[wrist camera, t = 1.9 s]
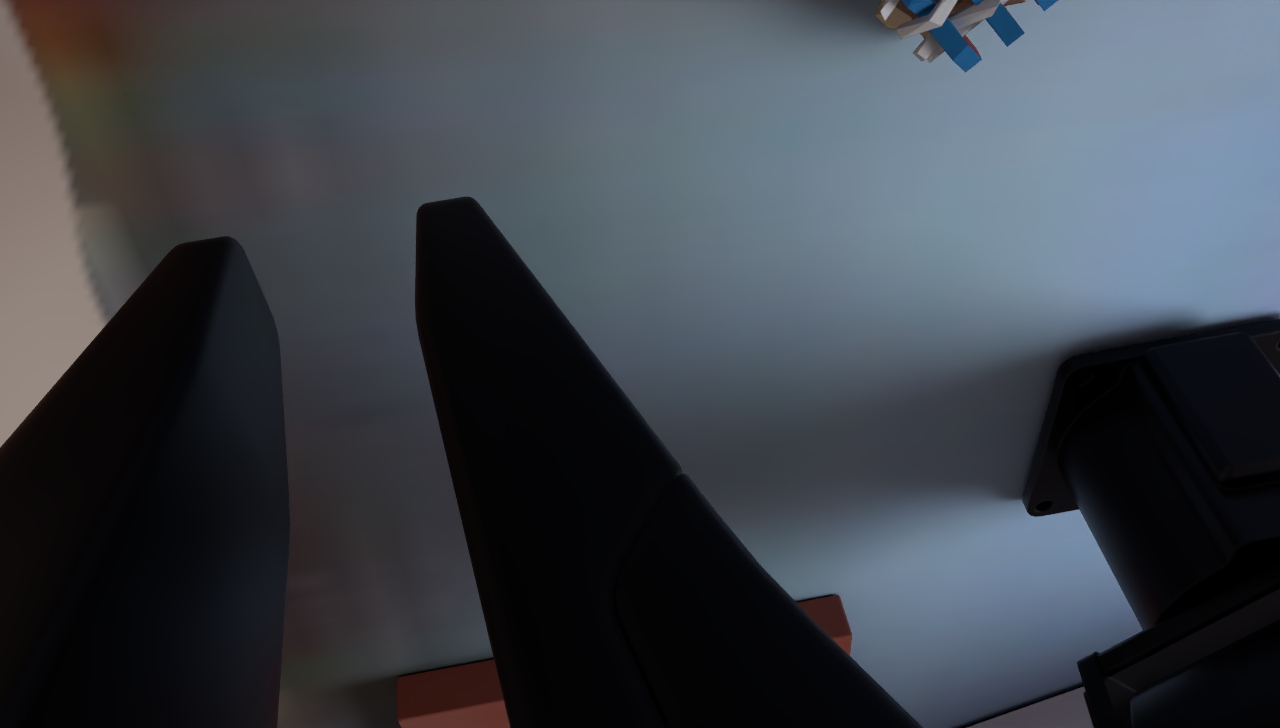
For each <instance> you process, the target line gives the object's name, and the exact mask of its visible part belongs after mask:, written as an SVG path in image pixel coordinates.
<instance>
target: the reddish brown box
mask: <svg viewBox="0 0 1280 728" xmlns="http://www.w3.org/2000/svg"><path fill="white" fill-rule="evenodd" d="M797 604H798V605H799V606H800V607H801V608H802V609H803V610H804V611H805V612H806V613H807V614H808V615H809V616H810V618H811V619H812V620H813V621H814V622H815V623H816V624H817V625H818V626H819V627H820V628H821V629H822V630H823V631H824V632H825V633H827V634H828V635H829V636H830V637H831V638H832V639H833V640H834V641H835V642H836V643H837V644H838V645H839V646H840V647H841V648H842V649H843V650H844V651H845V652H846V653H847V654H848V655H849V656H850V649H851V640H852V633H851V630H850V627H849V624H848V620H847V617H846V614H845V611H844V608H843V605H842V602H841V599H840V597H839V595H835V596H830V597H824V598H819V599H813V600H808V601H803V602H797ZM397 713H398V722H399V724H400V726H401V728H510V725H509V721H508V716H507V712H506V708H505V704H504V699H503V695H502V691H501V686H500V682H499V678H498V674H497V669H496V665H495V661H494V659H493V660H487V661H482V662H477V663H471V664H466V665H460V666H455V667H450V668H444V669H439V670H434V671H428V672H423V673H418V674H412V675H407V676H402V677H398V678H397Z"/></svg>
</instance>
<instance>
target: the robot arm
mask: <svg viewBox="0 0 1280 728" xmlns="http://www.w3.org/2000/svg"><path fill="white" fill-rule="evenodd" d="M415 311H416V323H417V329H418V335H419V340H420V344H421V349H422V353H423V357H424V362H425V366H426V370H427V374H428V379H429V383H430V387H431V391H432V396H433V400H434V404H435V409H436V413H437V417H438V421H439V426H440V430H441V434H442V438H443V443H444V447H445V451H446V456H447V460H448V464H449V468H450V473H451V477H452V481H453V486H454V490H455V494H456V498H457V503H458V507H459V511H460V515H461V520H462V524H463V528H464V533H465V537H466V541H467V545H468V550H469V554H470V558H471V562H472V567H473V571H474V575H475V580H476V584H477V588H478V592H479V597H480V601H481V605H482V610H483V614H484V618H485V622H486V627H487V631H488V635H489V639H490V644H491V648H492V652H493V657H494V661H495V665H496V669H497V674H498V678H499V682H500V686H501V691H502V695H503V699H504V704H505V708H506V712H507V716H508V721H509V725H510V728H923V727H922V726H921V725H920V724H919V723H918V722H917V721H916V720H915V719H914V718H913V717H911V716H910V715H909V714H908V713H907V712H906V711H905V710H904V709H903V708H902V707H901V706H900V705H899V704H898V703H897V702H896V701H895V700H894V699H893V698H892V697H891V696H890V695H889V694H888V693H887V692H886V691H885V690H884V689H883V688H882V687H881V686H880V685H879V684H878V683H877V682H876V681H875V680H874V679H873V678H872V677H871V676H870V675H868V674H867V673H866V672H865V671H864V670H863V669H862V668H861V667H860V666H859V665H858V664H857V663H856V662H855V661H854V660H853V659H852V658H851V657H850V656H849V655H848V654H847V653H846V652H845V651H844V650H843V649H842V648H841V647H840V646H839V645H838V644H837V643H836V642H835V641H834V640H833V639H832V638H831V637H830V636H829V635H828V634H827V633H825V632H824V631H823V630H822V629H821V628H820V627H819V626H818V625H817V624H816V623H815V622H814V621H813V620H812V619H811V618H810V616H809V615H808V614H807V613H806V612H805V611H804V610H803V609H802V608H801V607H800V606H799V605H798V604H797V603H796V602H795V601H794V600H793V599H792V598H791V597H790V596H789V595H788V593H787V592H786V591H785V590H784V589H783V588H782V587H781V586H780V585H779V584H778V583H777V582H776V581H775V580H774V579H773V578H772V577H771V576H770V575H769V574H768V573H767V572H766V570H765V569H764V568H763V567H762V566H761V565H760V564H759V563H758V562H757V560H756V559H755V558H754V557H753V556H752V554H751V553H750V552H749V551H748V550H747V548H746V547H745V546H744V545H743V544H742V542H741V541H740V540H739V539H738V538H737V536H736V535H735V534H734V533H733V532H732V530H731V529H730V528H729V527H728V526H727V524H726V523H725V522H724V521H723V519H722V518H721V517H720V516H719V515H718V513H717V512H716V511H715V510H714V508H713V507H712V506H711V505H710V503H709V502H708V501H707V499H706V498H705V497H704V495H703V494H702V493H701V491H700V490H699V489H698V488H697V486H696V485H695V484H694V482H693V481H692V480H691V478H690V477H689V476H688V475H686V474H682V469H681V467H680V465H679V464H678V462H677V461H676V460H675V459H674V457H673V456H672V455H671V453H670V452H669V451H668V449H667V448H666V447H665V446H664V444H663V443H662V442H661V440H660V439H659V438H658V436H657V435H656V434H655V432H654V431H653V430H652V429H651V427H650V426H649V425H648V423H647V422H646V421H645V419H644V418H643V417H642V416H641V414H640V413H639V412H638V410H637V409H636V408H635V406H634V405H633V404H632V403H631V401H630V400H629V399H628V397H627V396H626V395H625V393H624V392H623V391H622V389H621V388H620V387H619V386H618V384H617V383H616V382H615V380H614V379H613V378H612V376H611V375H610V374H609V373H608V371H607V370H606V369H605V367H604V366H603V365H602V363H601V362H600V361H599V360H598V358H597V357H596V356H595V354H594V353H593V352H592V350H591V349H590V348H589V346H588V345H587V344H586V343H585V341H584V340H583V339H582V337H581V336H580V335H579V333H578V332H577V331H576V330H575V328H574V327H573V326H572V324H571V323H570V322H569V320H568V319H567V318H566V316H565V315H564V314H563V313H562V311H561V310H560V309H559V307H558V306H557V305H556V303H555V302H554V301H553V300H552V298H551V297H550V296H549V294H548V293H547V292H546V290H545V289H544V288H543V287H542V285H541V284H540V283H539V281H538V280H537V279H536V277H535V276H534V275H533V273H532V272H531V271H530V270H529V268H528V267H527V266H526V264H525V263H524V262H523V260H522V259H521V258H520V257H519V255H518V254H517V253H516V251H515V250H514V249H513V247H512V246H511V245H510V243H509V242H508V241H507V240H506V238H505V237H504V236H503V234H502V233H501V232H500V230H499V229H498V228H497V227H496V225H495V224H494V223H493V221H492V220H491V219H490V217H489V216H488V215H487V214H486V212H485V211H484V210H483V208H482V207H481V206H480V204H479V203H478V202H477V201H476V200H475V199H473V198H471V197H460V198H454V199H448V200H442V201H436V202H430V203H425V204H423V205H422V206H421V207H420V208H419V209H418V211H417V221H416V277H415ZM1022 500H1023V504H1024V506H1025V508H1026V510H1027V512H1028V513H1029V514H1030V515H1031V516H1035V517H1036V516H1045V515H1050V514H1056V513H1061V512H1066V511H1072V510H1077V509H1080V511H1081V513H1082V515H1083V517H1084V519H1085V520H1086V522H1087V524H1088V526H1089V528H1090V530H1091V532H1092V534H1093V536H1094V538H1095V540H1096V541H1097V543H1098V545H1099V547H1100V549H1101V551H1102V553H1103V555H1104V557H1105V559H1106V560H1107V562H1108V564H1109V566H1110V568H1111V570H1112V572H1113V574H1114V576H1115V578H1116V579H1117V581H1118V583H1119V585H1120V587H1121V589H1122V591H1123V593H1124V595H1125V597H1126V598H1127V600H1128V602H1129V604H1130V606H1131V608H1132V610H1133V612H1134V614H1135V616H1136V617H1137V619H1138V621H1139V623H1140V625H1141V627H1142V629H1143V631H1142V632H1140V633H1138V634H1136V635H1134V636H1132V637H1130V638H1128V639H1127V640H1125V641H1123V642H1121V643H1119V644H1117V645H1115V646H1113V647H1111V648H1110V649H1108V650H1106V651H1104V652H1102V653H1098V652H1094V653H1092V654H1090V655H1088V656H1087V657H1085V658H1083V659H1081V660H1079V661H1078V662H1077V665H1078V669H1079V672H1080V675H1081V678H1082V682H1083V685H1084V688H1085V691H1084V692H1083V694H1084V698H1085V702H1086V705H1087V708H1088V711H1089V715H1090V718H1091V721H1092V724H1093V728H1280V319H1279V320H1273V321H1267V322H1262V323H1256V324H1250V325H1245V326H1239V327H1233V328H1228V329H1222V330H1217V331H1211V332H1205V333H1200V334H1194V335H1188V336H1183V337H1177V338H1171V339H1166V340H1160V341H1155V342H1149V343H1143V344H1138V345H1132V346H1126V347H1121V348H1115V349H1109V350H1104V351H1098V352H1092V353H1087V354H1081V355H1077V356H1074V357H1072V358H1070V359H1068V360H1066V361H1065V362H1064V363H1063V364H1062V365H1061V366H1060V367H1059V369H1058V371H1057V374H1056V378H1055V382H1054V385H1053V389H1052V392H1051V396H1050V400H1049V403H1048V407H1047V411H1046V414H1045V418H1044V422H1043V425H1042V429H1041V432H1040V436H1039V440H1038V443H1037V447H1036V451H1035V454H1034V458H1033V461H1032V465H1031V469H1030V472H1029V476H1028V480H1027V483H1026V487H1025V491H1024V494H1023V498H1022ZM289 541H290V507H289V486H288V470H287V454H286V438H285V421H284V405H283V389H282V372H281V356H280V344H279V337H278V332H277V328H276V324H275V321H274V318H273V315H272V313H271V311H270V308H269V306H268V304H267V301H266V299H265V297H264V295H263V292H262V290H261V288H260V285H259V283H258V281H257V278H256V276H255V274H254V272H253V269H252V267H251V265H250V262H249V260H248V258H247V256H246V253H245V251H244V249H243V248H242V246H241V245H240V244H239V242H238V241H237V240H235V239H233V238H231V237H229V236H223V237H217V238H211V239H205V240H199V241H193V242H187V243H182V244H179V245H177V246H175V247H174V248H173V249H172V250H171V251H170V252H169V253H168V254H167V255H166V256H165V257H164V259H163V260H162V261H161V262H160V263H159V264H158V266H157V267H156V268H155V269H154V270H153V271H152V273H151V274H150V275H149V276H148V277H147V278H146V279H145V281H144V282H143V283H142V284H141V285H140V286H139V288H138V289H137V290H136V291H135V292H134V293H133V295H132V296H131V297H130V298H129V299H128V300H127V302H126V303H125V304H124V305H123V306H122V307H121V308H120V310H119V311H118V312H117V313H116V314H115V315H114V317H113V318H112V319H111V320H110V321H109V322H108V324H107V325H106V326H105V327H104V328H103V329H102V330H101V332H100V333H99V334H98V335H97V336H96V337H95V339H94V340H93V341H92V342H91V343H90V344H89V346H88V347H87V348H86V349H85V350H84V351H83V352H82V354H81V355H80V356H79V357H78V358H77V359H76V361H75V362H74V363H73V364H72V365H71V367H70V368H69V369H68V370H67V371H66V372H65V373H64V374H63V376H62V377H61V378H60V379H59V380H58V381H57V383H56V384H55V385H54V386H53V387H52V389H51V390H50V391H49V392H48V393H47V394H46V395H45V396H44V398H43V399H42V400H41V401H40V402H39V403H38V405H37V406H36V407H35V408H34V409H33V410H32V412H31V413H30V414H29V415H28V416H27V417H26V419H25V420H24V421H23V422H22V423H21V424H20V425H19V427H18V428H17V429H16V430H15V431H14V432H13V434H12V435H11V436H10V437H9V438H8V440H7V441H6V442H5V443H4V444H3V445H2V446H1V448H0V728H277V720H278V705H279V691H280V676H281V662H282V648H283V633H284V619H285V604H286V590H287V576H288V561H289Z"/></svg>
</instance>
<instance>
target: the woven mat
mask: <svg viewBox="0 0 1280 728" xmlns="http://www.w3.org/2000/svg"><path fill="white" fill-rule="evenodd" d="M1026 1H1028V0H881V2H880V5H879V8H878V10H877V13H876V15H875V16H876V17H877V18H878V19H879V20H880V21H881V22H882V23H883V24H884V25H885V26H886V27H887V28H889V29H896V31H897V33H898V35H899V37H900V38H901V39H903V38H906V37H909V36H912V35H916V34H919V33H920V34H921V35H922V36H923V38H924V40H923V41H922V43H921V44H920V45H919V46H918V47H917V48H916V50H915V51H914V52H913V54H914V55H916V56H917V57H918V58H919V59H920V60H921V61H924V60H926V59H927V60H928V61H929V63H930V62H932V61H933V60H934V59H935V58H937V57H938V56H939V55H940V54H942V53H943V52H944V51H946V53H947V54H948V55H949V56H950V58H951V59H952V60H953V61H954V62H955V63H956V64H957V65H958V66H959V67H960V68H961V69H962V70H964V71H965V72H967V71H968V70H969V69H971V68H972V67H973V66H974V65H976V64H977V63H978V62H979V61H981V60H982V59H981V57H980V55H979V53H978V51H977V49H976V48H975V46H974V45H973V44H972V43H971V41H970V40H969V39H968V38H967V37H966V35H965V34H967V33H968V32H969V31H970V30H972V29H973V28H974V27H975V26H977V25H978V24H979V23H981V22H982V21H983V20H984V19H986V20H987V22H988V23H989V24H990V25H991V27H992V28H993V29H994V31H995V32H996V33H997V34H998V36H999V37H1000V38H1001V39H1002V41H1003V42H1004V43H1005V45H1006V46H1009V45H1010V44H1011V43H1012V42H1014V41H1015V40H1016V39H1018V38H1019V37H1020V36H1021V35H1023V34H1024V32H1023V30H1022V29H1021V28H1020V26H1019V25H1018V24H1017V22H1016V21H1015V20H1014V19H1013V17H1012V16H1011V15H1010V13H1009V12H1008V11H1007V9H1006V8H1005V7H1004V6H1007V5H1012V4H1017V3H1022V2H1026ZM1035 1H1036V3H1037V4H1038V5H1040V6H1041V8H1042V9H1043V10H1044V11H1045V10H1046V9H1048V8H1049V7H1050V6H1051V5H1053V4H1054V3H1055V2H1056V1H1058V0H1035ZM916 15H917V16H916Z"/></svg>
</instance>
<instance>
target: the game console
mask: <svg viewBox="0 0 1280 728" xmlns="http://www.w3.org/2000/svg"><path fill="white" fill-rule="evenodd" d="M1084 691H1085V688H1084V687H1081V688H1078V689H1075V690H1073V691H1070V692H1067V693H1064V694H1061V695H1058V696H1055V697H1053V698H1050V699H1047V700H1044V701H1041V702H1038V703H1036V704H1033V705H1030V706H1027V707H1024V708H1021V709H1018V710H1016V711H1013V712H1010V713H1007V714H1004V715H1001V716H998V717H996V718H993V719H990V720H987V721H984V722H981V723H979V724H976V725H973V726H970V727H967V728H1093V724H1092V721H1091V718H1090V715H1089V711H1088V708H1087V705H1086V702H1085V698H1084V694H1083V692H1084Z"/></svg>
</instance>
